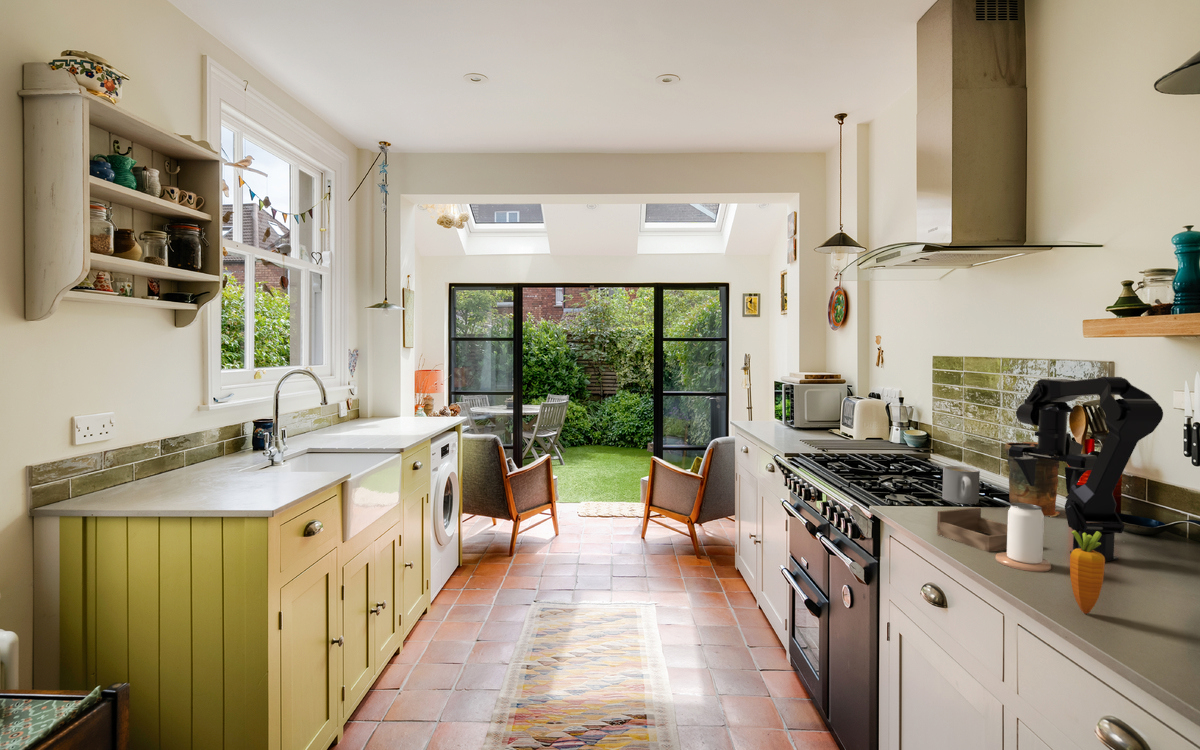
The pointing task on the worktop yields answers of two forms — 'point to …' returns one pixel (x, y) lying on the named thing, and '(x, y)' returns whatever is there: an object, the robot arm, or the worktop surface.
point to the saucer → (1008, 562)
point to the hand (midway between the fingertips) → (1050, 489)
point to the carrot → (1087, 571)
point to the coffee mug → (961, 484)
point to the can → (1025, 533)
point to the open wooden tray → (972, 529)
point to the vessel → (1043, 486)
